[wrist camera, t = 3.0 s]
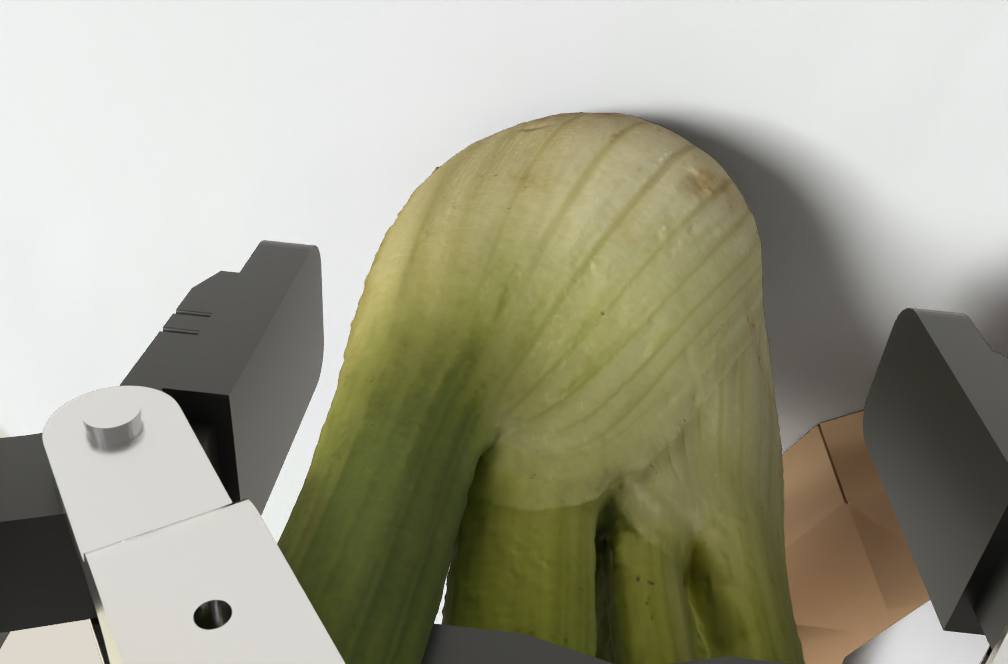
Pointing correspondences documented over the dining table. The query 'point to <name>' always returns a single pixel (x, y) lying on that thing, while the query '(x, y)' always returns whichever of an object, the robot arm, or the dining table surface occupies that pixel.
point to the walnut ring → (843, 544)
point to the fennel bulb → (557, 412)
